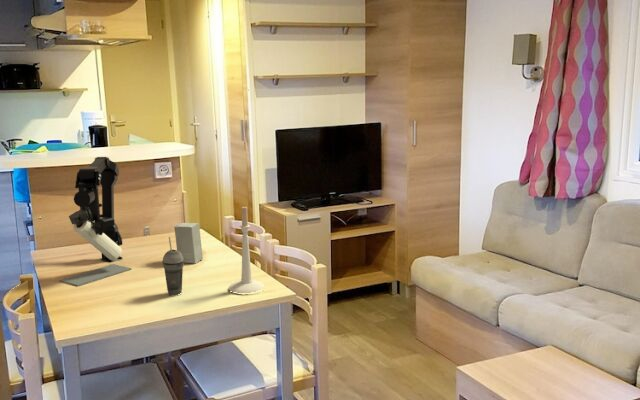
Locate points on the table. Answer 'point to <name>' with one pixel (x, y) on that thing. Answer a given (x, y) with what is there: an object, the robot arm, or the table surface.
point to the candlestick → (245, 263)
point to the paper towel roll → (98, 240)
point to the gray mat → (95, 275)
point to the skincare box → (189, 242)
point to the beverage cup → (173, 270)
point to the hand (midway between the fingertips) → (94, 242)
